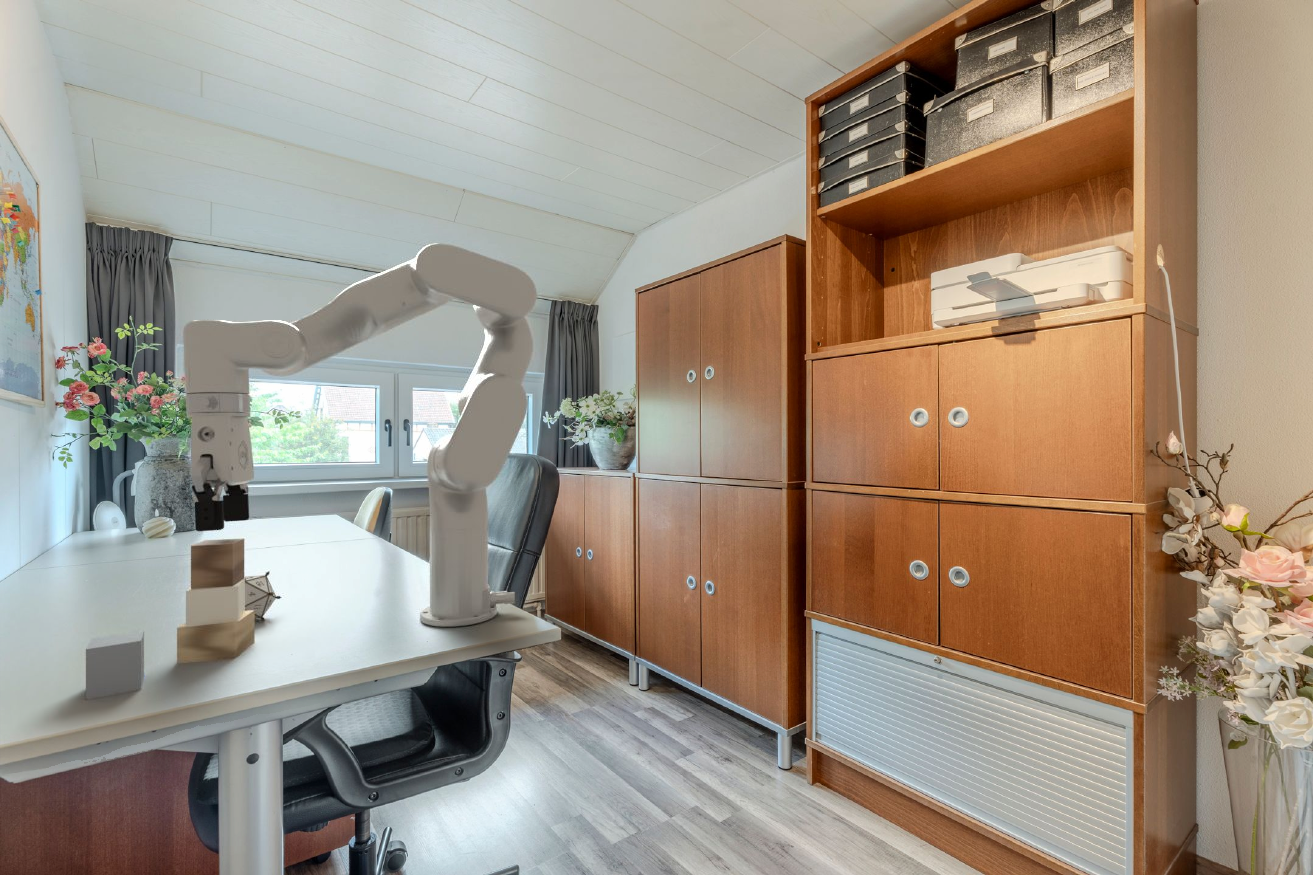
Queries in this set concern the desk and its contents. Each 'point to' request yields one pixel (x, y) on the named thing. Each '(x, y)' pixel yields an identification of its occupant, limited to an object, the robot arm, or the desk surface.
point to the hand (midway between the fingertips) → (224, 525)
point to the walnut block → (217, 563)
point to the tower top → (215, 604)
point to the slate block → (114, 664)
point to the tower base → (215, 640)
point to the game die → (259, 595)
